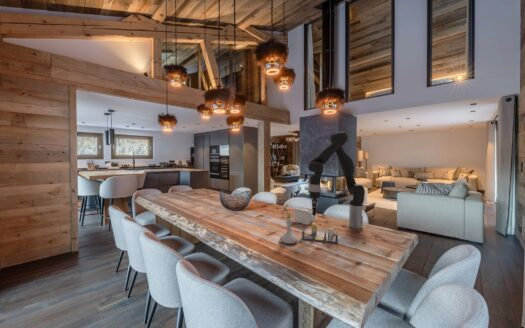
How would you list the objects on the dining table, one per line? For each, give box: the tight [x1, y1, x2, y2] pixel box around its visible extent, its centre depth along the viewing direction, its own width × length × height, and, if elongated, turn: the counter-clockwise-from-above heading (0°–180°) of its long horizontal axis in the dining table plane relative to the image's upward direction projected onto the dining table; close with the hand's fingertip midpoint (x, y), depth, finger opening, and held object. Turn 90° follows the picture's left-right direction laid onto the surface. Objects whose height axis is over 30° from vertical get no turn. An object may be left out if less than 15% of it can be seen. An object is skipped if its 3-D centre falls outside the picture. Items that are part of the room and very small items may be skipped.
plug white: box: [327, 227, 335, 241], centre depth 146 cm, size 4×4×7 cm
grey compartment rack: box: [301, 228, 339, 245], centre depth 148 cm, size 22×6×6 cm, turn 75°
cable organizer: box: [293, 206, 316, 226], centre depth 186 cm, size 15×11×12 cm
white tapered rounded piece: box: [279, 203, 299, 245], centre depth 143 cm, size 13×11×25 cm
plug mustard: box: [311, 222, 318, 236], centre depth 160 cm, size 4×4×7 cm
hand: (314, 213), depth 159 cm, fingers open, 8 cm apart
